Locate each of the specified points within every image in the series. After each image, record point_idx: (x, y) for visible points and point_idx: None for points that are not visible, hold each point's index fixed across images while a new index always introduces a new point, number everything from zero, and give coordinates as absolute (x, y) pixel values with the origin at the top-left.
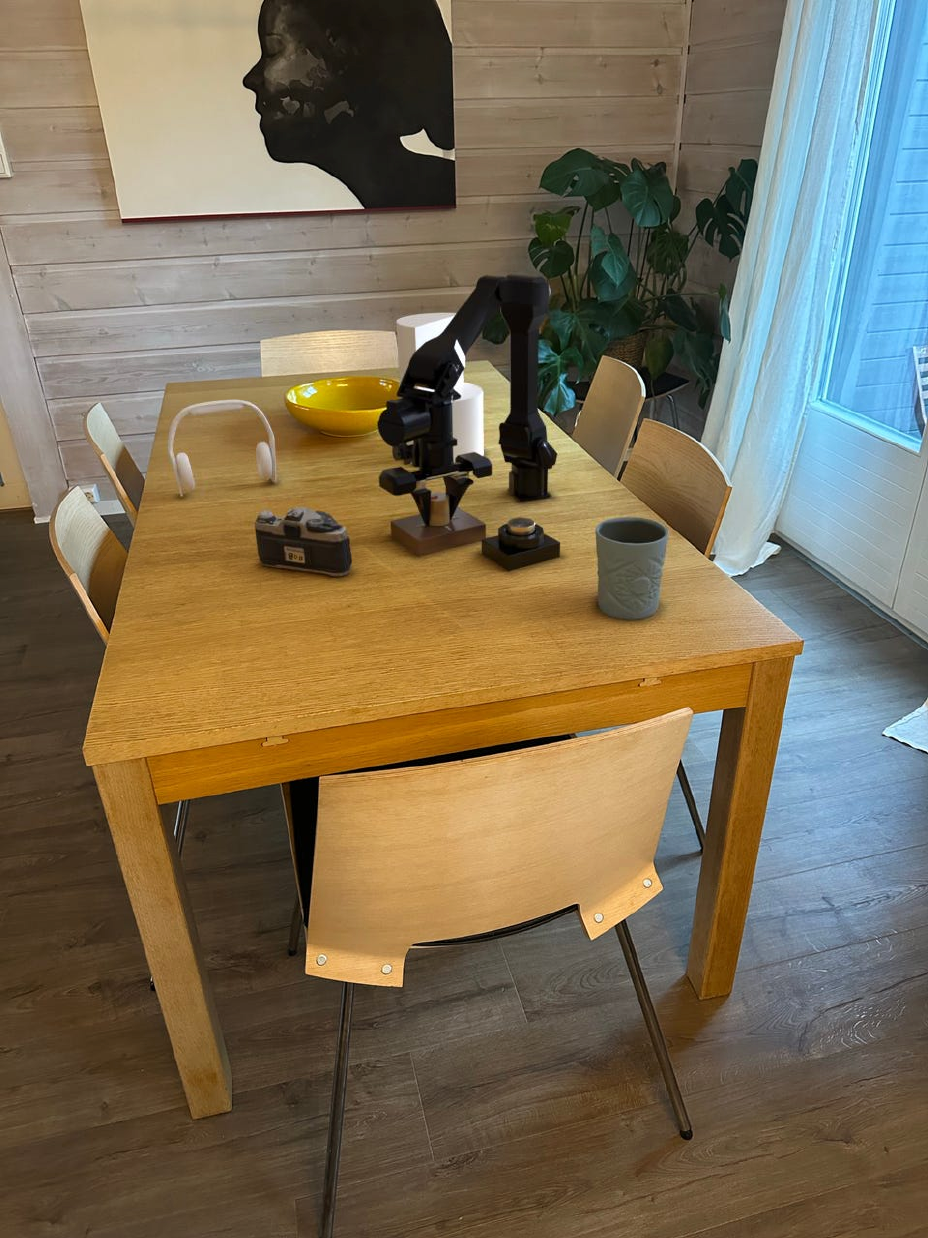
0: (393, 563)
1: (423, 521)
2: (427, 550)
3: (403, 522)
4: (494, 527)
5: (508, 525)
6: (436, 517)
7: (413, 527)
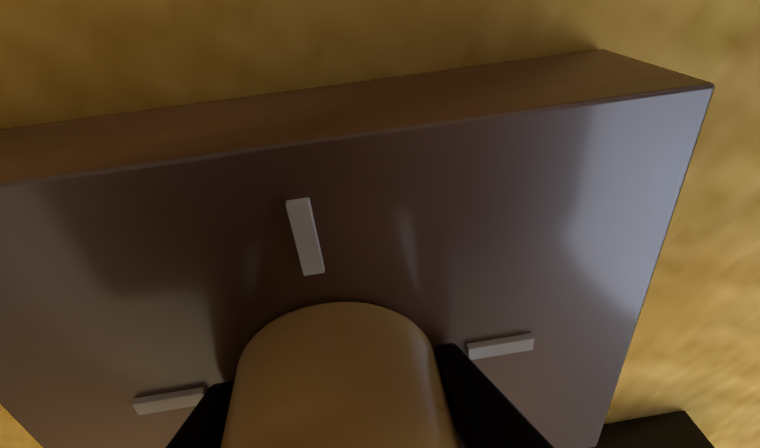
0: (15, 444)
1: (203, 400)
2: None
3: (6, 295)
4: (703, 247)
5: None
6: None
7: (110, 398)
